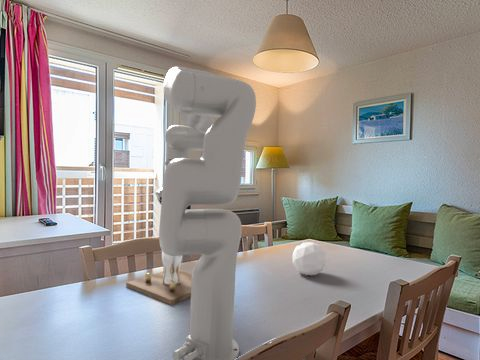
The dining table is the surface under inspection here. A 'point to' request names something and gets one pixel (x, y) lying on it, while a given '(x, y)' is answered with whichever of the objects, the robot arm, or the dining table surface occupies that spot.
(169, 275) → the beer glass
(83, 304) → the dining table surface
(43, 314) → the dining table surface
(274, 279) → the dining table surface
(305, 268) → the geodesic sphere
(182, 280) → the walnut board
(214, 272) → the robot arm
